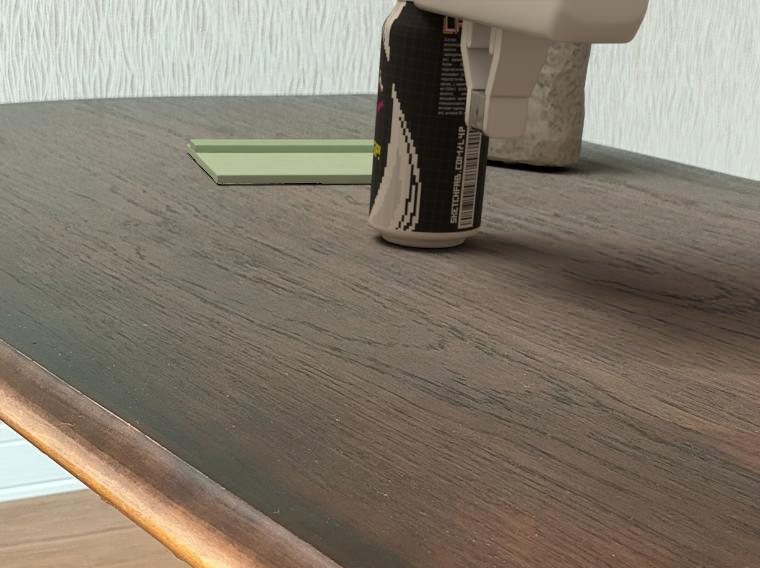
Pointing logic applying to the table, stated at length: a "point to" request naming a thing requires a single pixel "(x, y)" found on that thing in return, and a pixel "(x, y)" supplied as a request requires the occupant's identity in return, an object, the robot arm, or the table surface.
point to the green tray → (285, 160)
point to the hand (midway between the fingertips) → (493, 134)
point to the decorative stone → (552, 112)
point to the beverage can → (424, 135)
